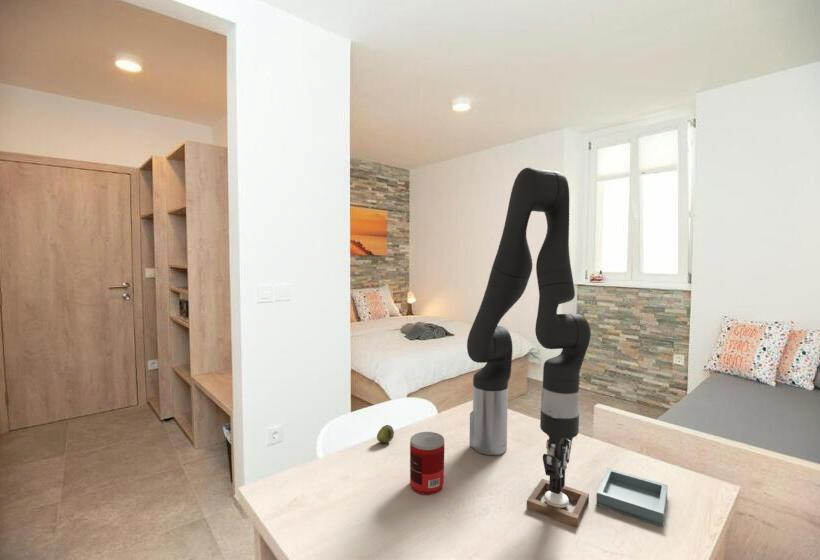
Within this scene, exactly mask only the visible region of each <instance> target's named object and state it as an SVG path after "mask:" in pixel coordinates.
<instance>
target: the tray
mask: <svg viewBox="0 0 820 560" xmlns="http://www.w3.org/2000/svg"><path fill="white" fill-rule="evenodd" d="M668 487H669V486H668V484H666V483H662V482H658V481H654V480H651V479H648V478H644V477H641V476H636V475H633V474H630V473H627V472H623V471H619V470H616V469H612V468H609V467H607V468H606V471H605V472H604V475H603V477H602V480H601V481H600V484H599V487H598V489H597V491H596V503H595V504H596V505H598V506H600V507H604V508H606V509H609V510H612V511H616V512H619V513H622V514H625V515H626V516H631V517H632V518H633V517H634V518H636V519H639V520H642V521H645V522H648V523H651V524H654V525H657V526H660V527H664V521H665V514H666V508H667V507H666V505H667V499H668Z"/></svg>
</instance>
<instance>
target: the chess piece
mask: <svg viewBox="0 0 820 560" xmlns="http://www.w3.org/2000/svg"><path fill="white" fill-rule="evenodd" d="M562 477H563V475H562ZM543 497H544V501H545V503H546V504H549V505H552V506H555V507H557V508H560V509H563V508H567V507H568V506H569V504H570V499H569V498H568V497H567V496H566V495H565V494H564V493H562V492H560V494H556V493H553V492H551V491H545V493H544V496H543Z"/></svg>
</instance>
